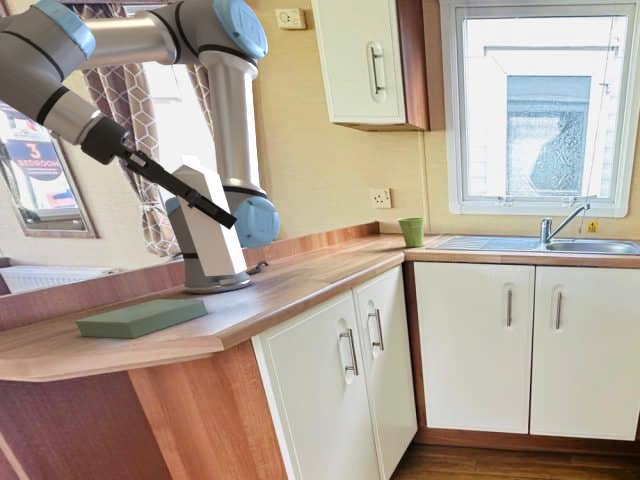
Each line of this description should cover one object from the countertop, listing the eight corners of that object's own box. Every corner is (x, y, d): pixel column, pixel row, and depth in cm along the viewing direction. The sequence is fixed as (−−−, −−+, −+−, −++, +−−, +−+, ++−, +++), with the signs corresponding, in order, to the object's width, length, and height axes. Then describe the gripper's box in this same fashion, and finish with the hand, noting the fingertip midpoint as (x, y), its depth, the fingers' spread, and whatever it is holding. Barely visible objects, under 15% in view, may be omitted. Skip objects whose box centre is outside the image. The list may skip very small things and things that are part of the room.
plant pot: (395, 248, 179) (391, 220, 174) (410, 244, 189) (406, 217, 184) (420, 248, 176) (416, 219, 171) (433, 244, 186) (430, 217, 181)
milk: (247, 269, 93) (214, 156, 83) (235, 274, 87) (198, 154, 78) (218, 271, 92) (181, 157, 83) (204, 276, 87) (162, 155, 77)
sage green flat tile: (162, 312, 93) (157, 299, 91) (207, 313, 90) (202, 299, 89) (82, 336, 79) (74, 320, 77) (133, 338, 76) (126, 322, 75)
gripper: (84, 153, 79) (214, 234, 95) (69, 143, 64) (226, 242, 80) (108, 121, 79) (233, 207, 95) (99, 104, 64) (249, 209, 80)
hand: (230, 223), depth 87 cm, fingers closed on milk, 8 cm apart
